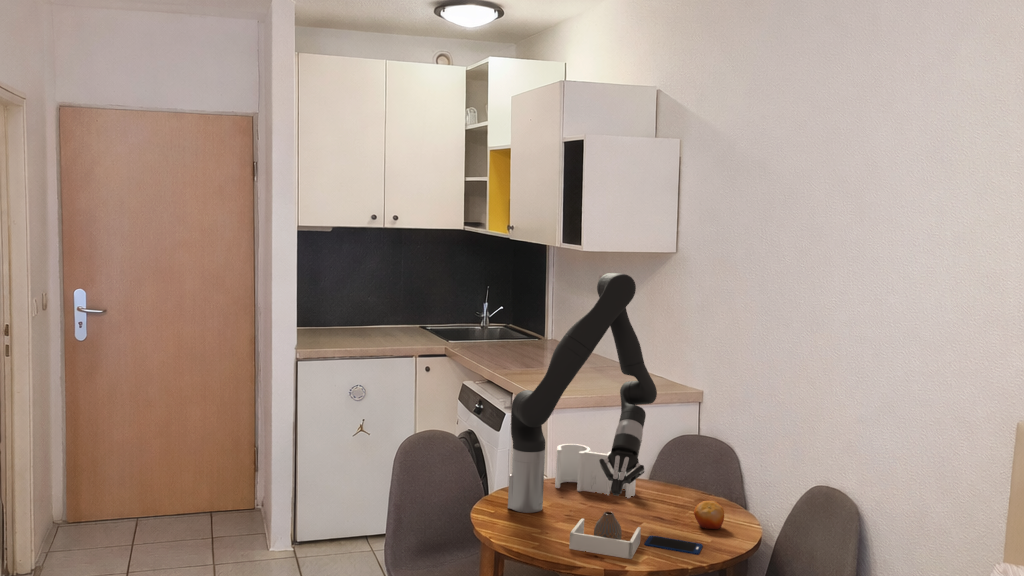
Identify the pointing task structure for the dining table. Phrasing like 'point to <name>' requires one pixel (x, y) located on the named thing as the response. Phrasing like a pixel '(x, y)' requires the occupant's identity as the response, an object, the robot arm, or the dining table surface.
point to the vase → (608, 527)
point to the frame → (603, 543)
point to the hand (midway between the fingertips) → (615, 494)
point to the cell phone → (674, 544)
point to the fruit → (709, 515)
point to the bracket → (585, 470)
